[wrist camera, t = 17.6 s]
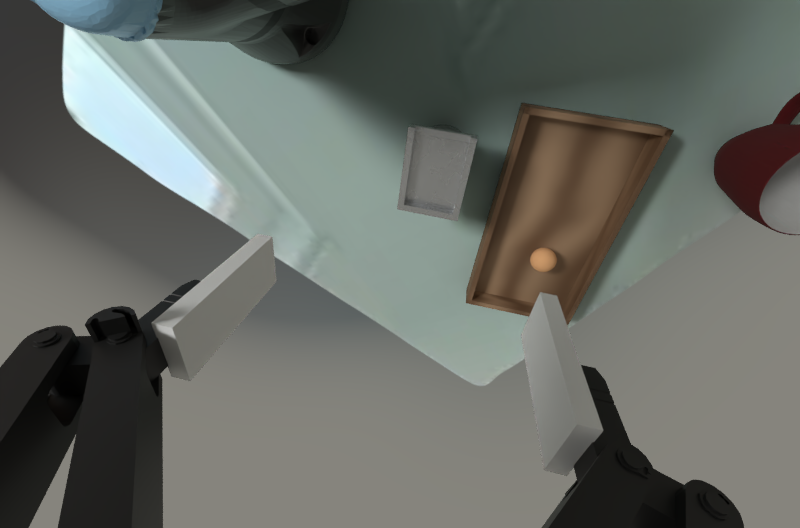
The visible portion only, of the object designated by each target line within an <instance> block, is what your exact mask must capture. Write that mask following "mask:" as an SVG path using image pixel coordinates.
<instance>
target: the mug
mask: <svg viewBox="0 0 800 528" xmlns="http://www.w3.org/2000/svg"><path fill="white" fill-rule="evenodd" d="M799 112H800V93H798V94H797V95H795V96H794V97H793V98H792V99H791V100H789V101H788V102H787V104H786V105H785V106H784V107H783V108H782V110H781V111H780V113H779V114H778V116H777V117H776V119H775V120H774V122H773V124H770V125H767V126H763V127H760V128H756V129H753V130H751V131H748V132H745V133H743V134H741V135H739V136H736V137H734V138H732V139H731V140H729V141H728V142H726V143H725V144H724V145H723V146H722V147H721V148H720V150H719V151H718V152H717V154H716V157H715V161H714V175H715V179H716V182H717V184H718V185H719V187H720V188H721V189H722V190H723V191H724V192H725V193H726V194H727V196H728V197H729V198H730V199H731V200H732V201H733V202H734V203H735V204H736V205H737V206H738V207H739V208H740V209H741V210H742V211H743V212H744V213H745V214H746V215H748V216H749V217H751V218H752V219H754V220H755V221H757V222H759V223H760V224H762V225H764V226H766V227H768V228H770V229H772V230H774V231H777V232H779V233H783V234H789V235H800V125H790V124H791V122H792V121H793V119H794V118H795V117H796V116H797V115H798V113H799Z"/></svg>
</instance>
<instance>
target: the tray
mask: <svg viewBox="0 0 800 528" xmlns="http://www.w3.org/2000/svg"><path fill="white" fill-rule="evenodd" d="M673 131H674V130H671V129H669V128H666V127H663V126H661V125H658V124H651V123H645V122H639V121H632V120H626V119H620V118H614V117H607V116H601V115H595V114H589V113H582V112H576V111H570V110H563V109H557V108H551V107H545V106H538V105H532V104H526V103H521V107H520V110H519V113H518V117H517V120H516V124H515V127H514V130H513V134H512V137H511V141H510V144H509V147H508V151H507V154H506V158H505V161H504V164H503V168H502V171H501V175H500V178H499V181H498V185H497V188H496V192H495V195H494V198H493V202H492V205H491V209H490V212H489V215H488V219H487V222H486V226H485V229H484V232H483V236H482V239H481V243H480V246H479V249H478V253H477V256H476V260H475V263H474V266H473V270H472V273H471V277H470V280H469V283H468V287H467V292H466V303H469V304H473V305H478V306H483V307H487V308H492V309H497V310H501V311H506V312H511V313H515V314H520V315H525V316H530V314H531V311H532V309H533V307H534V305H535V302H536V300H537V298H538V296H539V294H540V292H542V293H547V294H551V295H556V296H557V297H558V300H559V303H560V306H561V309H562V312H563V315H564V318H565V320H566V323H567V325H568V324H569V322H570V320H571V319H572V317H573V315H574V313H575V311H576V309H577V308H578V306H579V304H580V302H581V300H582V298H583V297H584V295H585V293H586V291H587V289H588V287H589V286H590V284H591V282H592V280H593V278H594V276H595V274H596V273H597V271H598V269H599V267H600V265H601V263H602V262H603V260H604V258H605V256H606V254H607V252H608V251H609V249H610V247H611V245H612V243H613V241H614V239H615V238H616V236H617V234H618V232H619V230H620V228H621V227H622V225H623V223H624V221H625V219H626V217H627V216H628V214H629V212H630V210H631V208H632V206H633V205H634V203H635V201H636V199H637V197H638V195H639V193H640V192H641V190H642V188H643V186H644V184H645V182H646V181H647V179H648V177H649V175H650V173H651V171H652V170H653V168H654V166H655V164H656V162H657V160H658V159H659V157H660V155H661V153H662V151H663V149H664V147H665V146H666V144H667V142H668V140H669V138H670V136H671V135H672V133H673ZM539 248H548V249H551V250H552V251H553V252H554V253H555V255H556V257H557V263H556V265H555V267H554V268H553V269H552V270H550V271H548V272H539V271H537V270H535V269H534V268H533V267H532V265H531V262H530V258H531V255H532V253H533V252H534V251H535V250H537V249H539Z"/></svg>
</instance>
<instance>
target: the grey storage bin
mask: <svg viewBox="0 0 800 528" xmlns="http://www.w3.org/2000/svg"><path fill="white" fill-rule="evenodd" d="M477 139H478V137H477V135H471V134H466V133H461V132H460V131H459V130H458V129H456V128H454V127H452V126H448V125H437V126H433V127H426V126H420V125H414V124H410V126H409V127H408V133H407V141H406V148H405V156H404V163H403V170H402V178H401V185H400V193H399V200H398V208H397V209H399V210H404V211H409V212H414V213H419V214H424V215H429V216H434V217H439V218H444V219H449V220H454V221H458V217H459V212H460V208H461V204H462V200H463V196H464V192H465V188H466V184H467V180H468V176H469V172H470V168H471V164H472V160H473V156H474V152H475V147H476V143H477Z"/></svg>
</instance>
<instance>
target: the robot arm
mask: <svg viewBox="0 0 800 528" xmlns="http://www.w3.org/2000/svg"><path fill="white" fill-rule="evenodd" d="M31 1H33V2H34V3H37V4H38V5H39V6H40V7H41V8H42V9H43V10H44V11H45V12H47V13H48V14H49V15H50V16H52V17H53V18H55V19H57V20H59V21H60V22H62V23H64V24H66V25H68V26H70V27H73V28H75V29H78V30H81V31H84V32H88V33H92V34H99V35H108V36H114V37H116V38H119V39H121V40H123V41H133V42H136V41H142V40H144V39H164V40H189V41H215V42H229V43H231V44H232V45H234V46H235V47H237V48H238V49H240V50H241V51H243V52H244V53H246V54H248V55H250V56H252V57H254V58H256V59H258V60H261V61H265V62H268V63H273V64H294V63H301V62H304V61H307V60H310V59H312V58H314V57H315V56H317V55H318V54H320V53H321V52H322V51H323V50H325V49H326V48H327V47H328V45H329V44H330V43H331V42H332V41H333V39H334V38H335V36H336V35H337V33H338V31H339V29H340V27H341V25H342V22H343V20H344V17H345V14H346V10H347V6H348V1H349V0H31ZM275 282H276V271H275V261H274V250H273V240H272V237H271V236H266V235H261V234H257V235H256V236H254V237H253V238H252V239H251V240H250V241H248V242H247V243H246V244H245V245H244V246H243V247H241V248H240V249H239V250H238V251H237V252H235V253H234V254H233V255H232V256H231V257H229V258H228V259H227V260H226V261H225V262H223V263H222V264H221V265H220V266H219V267H217V268H216V269H215V270H214V271H213V272H211V273H210V274H209V275H208V276H207V277H206V278H204V279H203V280H202V281H198V280H193V281H191V282H188V283H186V284H184V285H182V286H181V287H179V288H178V289H177V290H175V291H174V292H173V293H172V295H169V296H168V297H167V298H165V299H164V301H163V302H160V303H159V304H158V305H156V306H155V307H154V308H153V309H152V310H150V311H149V312H148V313H146V314H145V315H144V316H143V317H141V318H140V319H139V320H138V319H137V316H136V314H135V311H134V310H133V309H131V308H130V307H123V306H120V307H111V308H108V309H104V310H102V311H100V312H98V313H96V314H94V315H93V316H92V317H90V318H89V319H88V320H87V322H86V324H85V326H86V328H87V330H88V332H89V333H90V335H91V336H75V334H74V332H73V330H72V329H71V328H70V327H67V326H52V327H47V328H44V329H42V330H39V331H36V332H34V333H33V334H31V335H29V336H27V337H26V338H25V339H24V340H23V341H22V342H21V343H20V344H19V345H18V347H17V348H16V349H15V350H14V351H13V353H12V354H11V355H10V356H9V358H8V359H7V360H6V361H5V362H4V364H3V365H2V366H1V367H0V528H28V527H29V526H30V523H31V522H32V520H33V518H34V516H35V513H36V512H37V510H38V508H39V506H40V504H41V502H42V500H43V498H44V496H45V494H46V492H47V490H48V488H49V486H50V484H51V482H52V480H53V478H54V476H55V474H56V472H57V470H58V468H59V466H60V464H61V462H62V460H63V458H64V456H65V454H66V452H67V451H68V449H69V447H70V444H71V443H72V441H73V439H74V437H75V435H76V438H75V444H74V449H73V454H72V459H71V464H70V469H69V474H68V479H67V484H66V489H65V494H64V499H63V504H62V509H61V515H60V520H59V524H58V528H163V485H162V484H163V479H162V478H163V474H162V473H163V471H162V470H163V469H162V468H163V467H162V464H163V459H162V377H161V375H160V373H161V372H162V371H163V370H164V369H165V368H166V367H167V366H168V368H169V371H170V373H171V376H172V377H176V378H180V379H184V380H188V381H191V380H192V378H193V377H194V376H195V375H196V374H197V373H198V372H199V370H200V369H201V368H202V367H203V366H204V365H205V363H206V362H207V361H208V360H209V359H210V358H211V357H212V355H213V354H214V353H215V352H216V350H218V348H219V347H220V346H221V345H222V344H223V343H224V341H225V340H226V339H227V338H228V337H229V335H231V333H232V332H233V331H234V330H235V329H236V328H237V327H238V325H239V324H240V323H241V322H242V321H243V319H244V318H245V317H246V316H247V315H248V314H249V312H250V311H251V310H252V309H253V308H254V307H255V306H256V304H257V303H258V302H259V301H260V300H261V299H262V297H263V296H264V295H265V294H266V293H267V292H268V291H269V289H270V288H271V287H272V286H273V285H274V283H275ZM521 338H522V343H523V349H524V355H525V361H526V367H527V372H528V379H529V385H530V390H531V396H532V402H533V408H534V414H535V420H536V426H537V432H538V438H539V443H540V450H541V456H542V461H543V467H544V470H546V471H550V472H554V473H558V474H561V475H566V476H567V475H568V474H569V472H570V471H571V470H572V469H573V468H574V469H575V473H576V477H577V480H576V482H575V483H574V484H573V485H572V486H571V487H570V489H569V490H568V491H567V492H566V493H565V497H564V498H563V499H562V501H561V502H560V504H559V505H558V506H557V507H556V509H555V510H554V512H553V513H552V514H551V516H550V517H549V518H548V520H547V521H546V523H545V524H544V525H543V527H542V528H744V524H743V521H742V518H741V515H740V513H739V511H738V510H737V509H736V507H735V505H734V504H733V503H732V502H731V501H730V500H729V499H728V498H727V497H726V496H725V495H724V494H723V493H722V492H721V491H719V490H718V489H717V488H715V487H714V486H712V485H710V484H708V483H706V482H704V481H701V480H691V481H689V482H688V483H686V484H685V485H683V484H681V483H679V482H677V481H675V480H673V479H672V478H670V477H668V476H666V475H664V474H662V473H660V472H658V471H657V470H655V469H653V467H652V465H651V463H650V462H649V460H648V459H647V457H646V456H645V455H644V454H643V453H642V452H641V451H640V450H639V449H637V448H636V447H634V446H633V445H631V443H630V441H629V439H628V436H627V433H626V431H625V429H624V426H623V424H622V421H621V419H620V416H619V414H618V411H617V409H616V406H615V405H614V401H613V399H612V396H611V395H610V391H609V389H608V386H607V384H606V381H605V380H604V378H603V377H602V376H601V375H600V373H599V372H598V371H597V370H596V369H595V368H592V367H587V366H583V365H581V364H580V361H579V358H578V355H577V352H576V349H575V347H574V344H573V341H572V338H571V335H570V332H569V329H568V326H567V323H566V320H565V318H564V315H563V312H562V309H561V306H560V303H559V300H558V297H557V296H556V295H551V294H547V293H542V292H540V294H539V296H538V298H537V300H536V302H535V305H534V307H533V309H532V311H531V314H530V316H529V318H528V320H527V323H526V325H525V327H524V329H523V331H522V334H521Z"/></svg>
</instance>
